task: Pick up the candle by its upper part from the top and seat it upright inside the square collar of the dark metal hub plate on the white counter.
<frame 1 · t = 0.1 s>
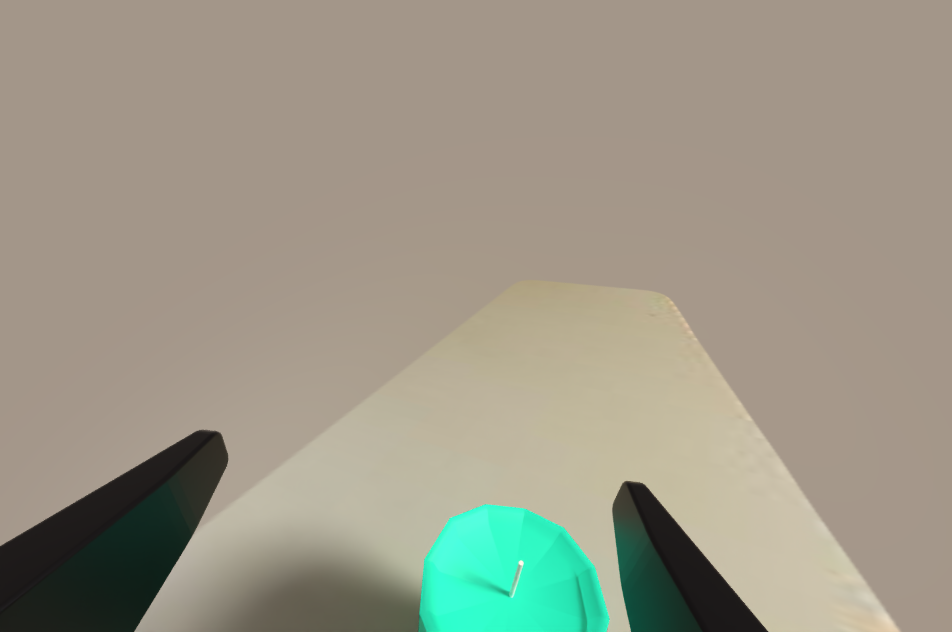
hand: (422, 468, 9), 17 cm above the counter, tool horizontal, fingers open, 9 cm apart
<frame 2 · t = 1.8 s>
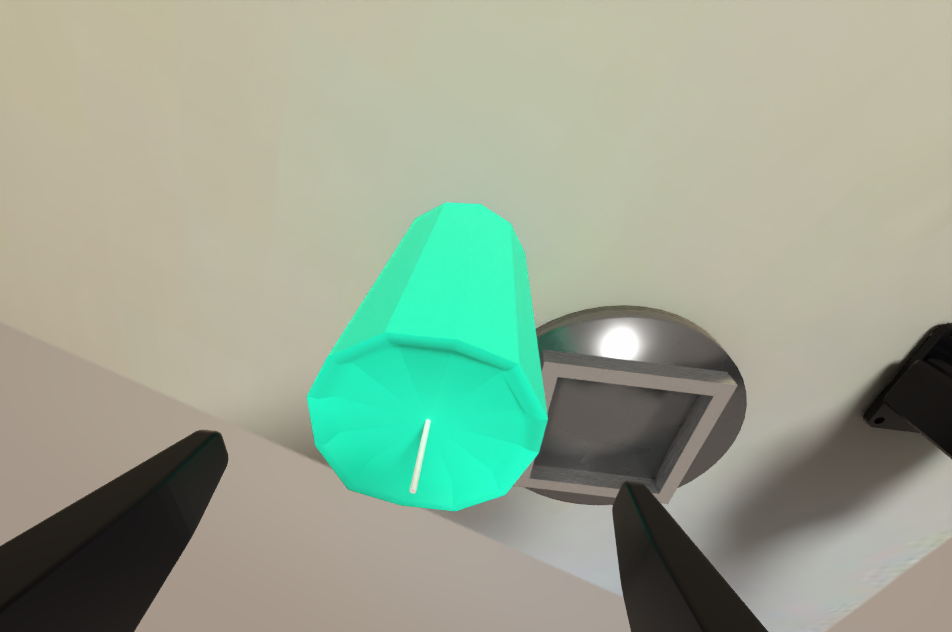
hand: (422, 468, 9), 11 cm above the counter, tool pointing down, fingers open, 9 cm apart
hub: (603, 411, 23), on the counter
candle: (462, 263, 19), on the counter
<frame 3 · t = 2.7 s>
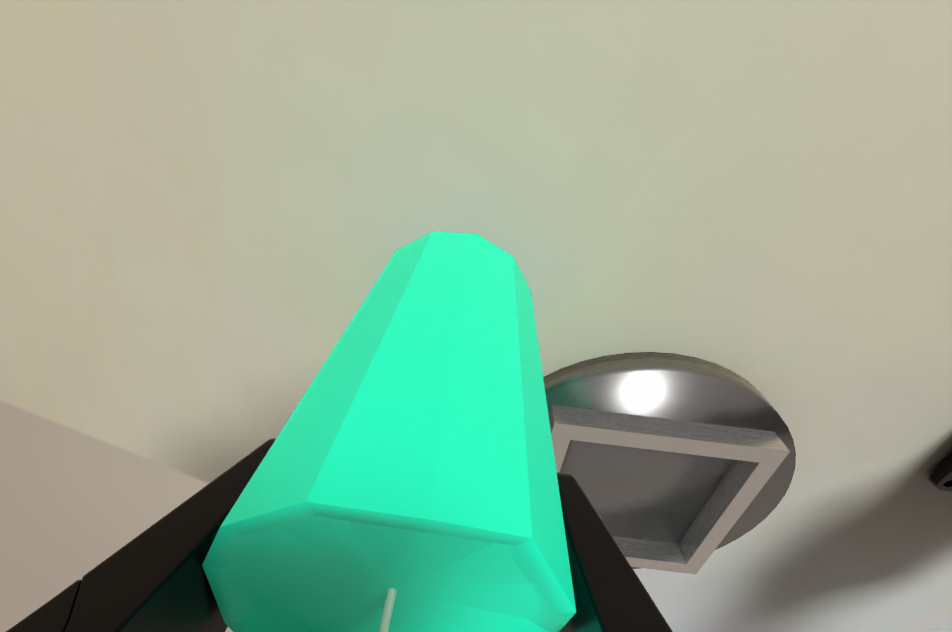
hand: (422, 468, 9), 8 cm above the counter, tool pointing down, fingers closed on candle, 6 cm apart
hub: (621, 467, 19), on the counter
candle: (454, 302, 15), on the counter, touching gripper
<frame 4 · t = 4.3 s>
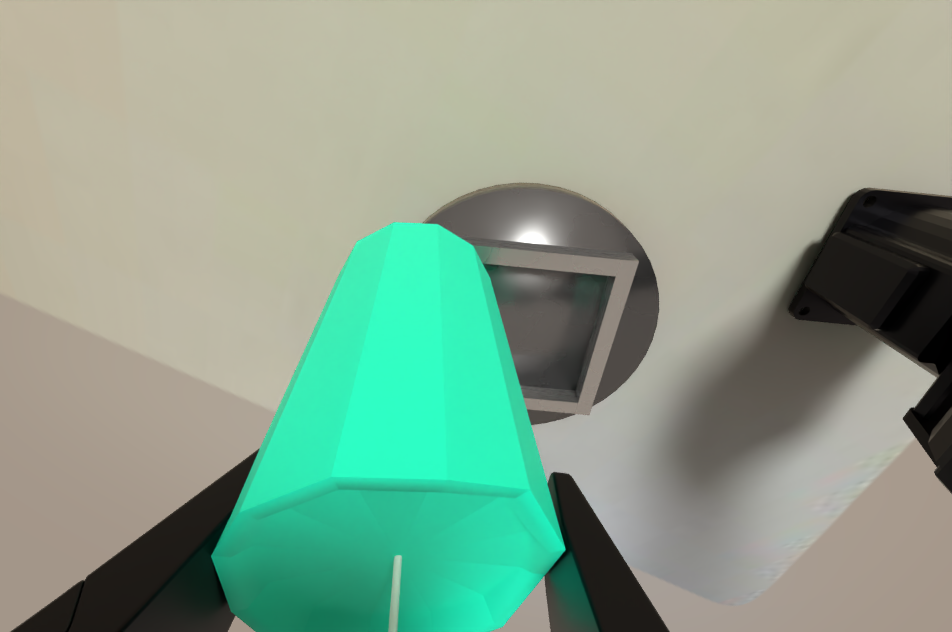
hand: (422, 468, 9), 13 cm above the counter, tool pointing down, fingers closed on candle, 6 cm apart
hub: (516, 316, 21), on the counter
candle: (416, 291, 16), point 4 cm above the counter, touching gripper
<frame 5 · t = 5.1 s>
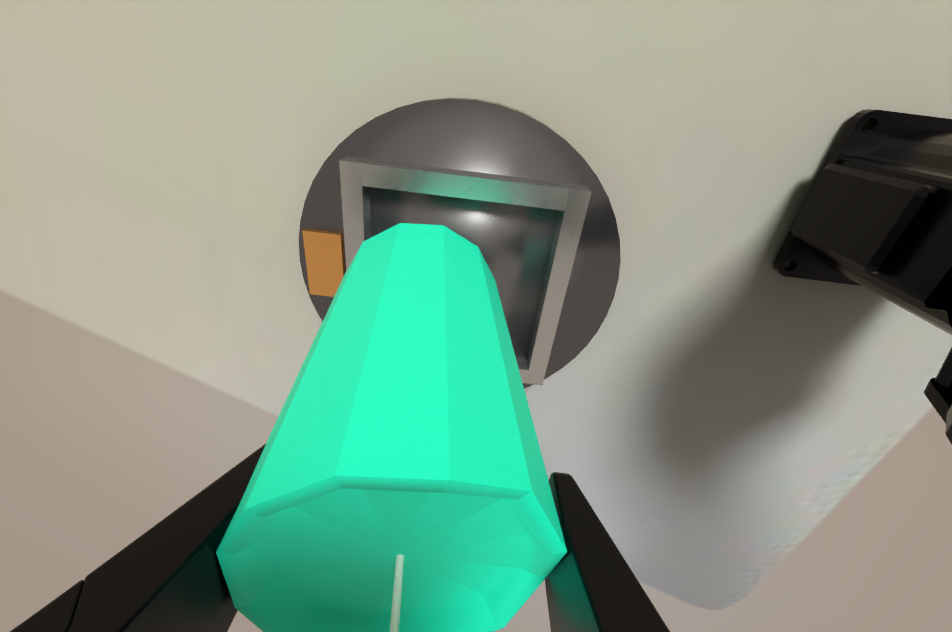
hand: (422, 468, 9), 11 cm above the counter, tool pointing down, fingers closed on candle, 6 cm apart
hub: (459, 268, 18), on the counter
candle: (421, 292, 16), point 3 cm above the counter, touching gripper
when the fingers open (10 cm above the counter, at t = 5.7 s): candle stays where it is, resting on hub.
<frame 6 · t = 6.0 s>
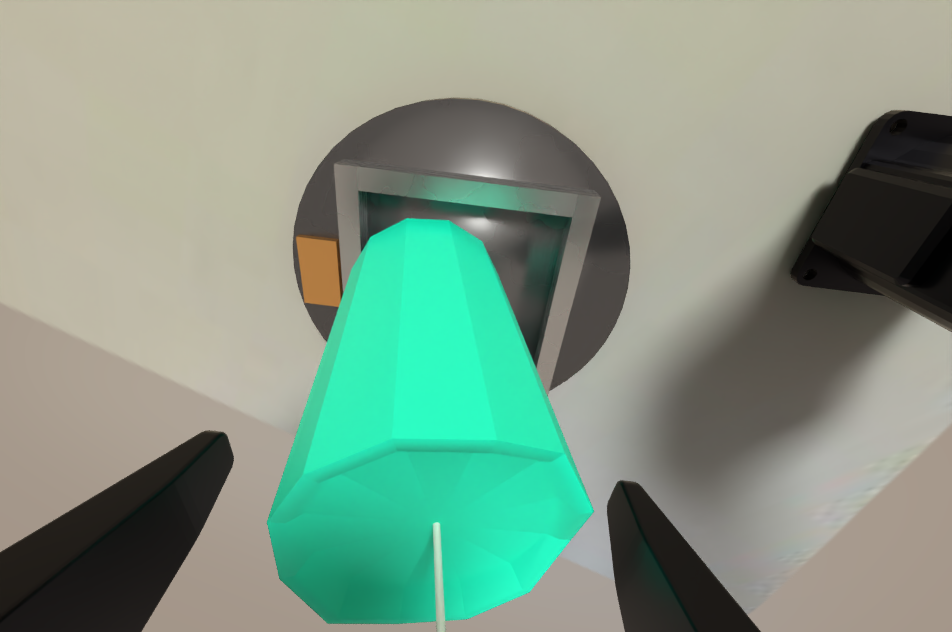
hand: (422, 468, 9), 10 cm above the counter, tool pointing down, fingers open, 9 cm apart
hub: (461, 275, 18), on the counter
candle: (426, 286, 16), point 2 cm above the counter, touching hub
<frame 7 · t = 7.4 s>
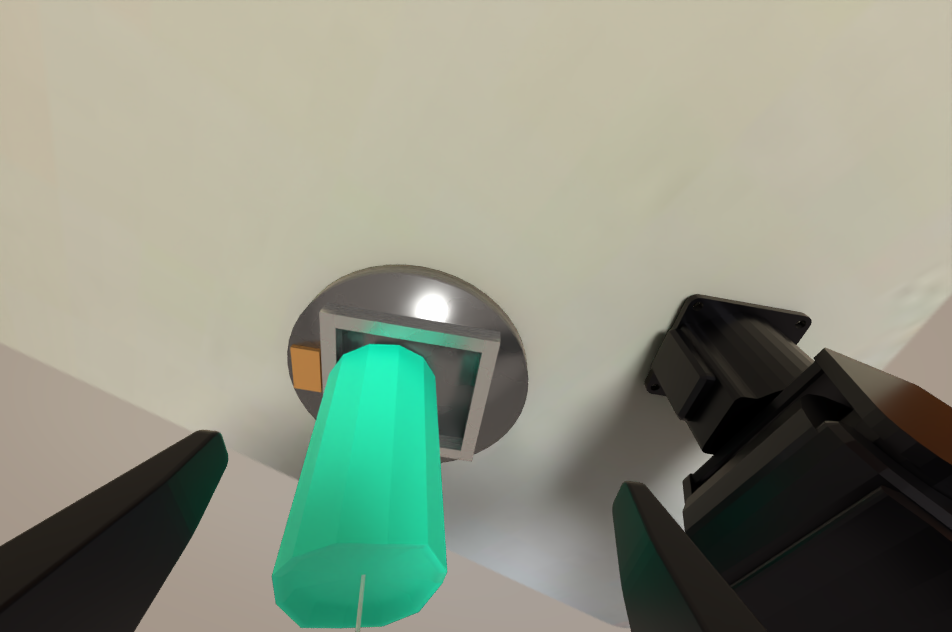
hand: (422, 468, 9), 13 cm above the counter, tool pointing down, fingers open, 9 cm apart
hub: (411, 370, 24), on the counter
candle: (383, 383, 23), point 2 cm above the counter, touching hub
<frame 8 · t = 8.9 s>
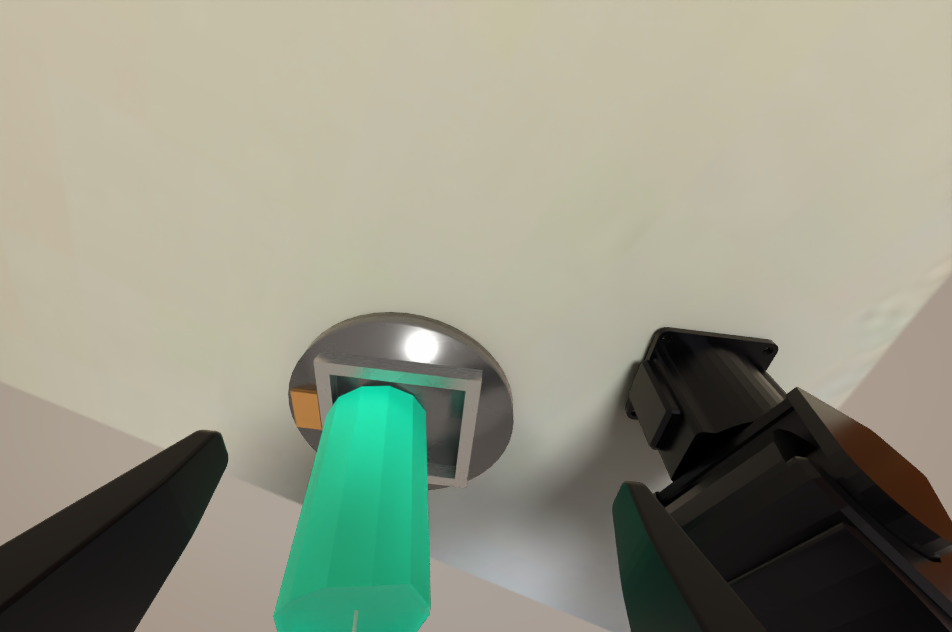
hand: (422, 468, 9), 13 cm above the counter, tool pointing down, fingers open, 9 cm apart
hub: (405, 405, 26), on the counter
candle: (378, 419, 24), point 2 cm above the counter, touching hub
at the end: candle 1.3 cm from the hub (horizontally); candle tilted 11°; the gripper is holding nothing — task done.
